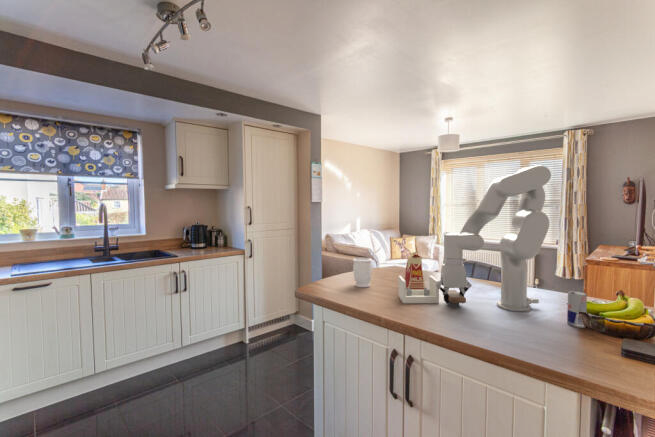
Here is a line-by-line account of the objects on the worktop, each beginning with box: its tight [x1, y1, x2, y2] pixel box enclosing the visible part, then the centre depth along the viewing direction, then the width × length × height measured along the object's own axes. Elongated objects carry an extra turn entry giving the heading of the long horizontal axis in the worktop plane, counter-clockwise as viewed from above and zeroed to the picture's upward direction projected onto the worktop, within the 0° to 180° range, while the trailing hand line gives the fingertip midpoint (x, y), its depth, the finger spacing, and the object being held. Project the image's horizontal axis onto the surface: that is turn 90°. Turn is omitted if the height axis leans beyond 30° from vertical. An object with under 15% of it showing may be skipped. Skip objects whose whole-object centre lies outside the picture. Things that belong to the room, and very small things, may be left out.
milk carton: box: [404, 251, 426, 290], centre depth 164 cm, size 9×9×20 cm
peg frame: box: [397, 275, 440, 304], centre depth 145 cm, size 16×11×10 cm
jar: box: [352, 256, 373, 288], centre depth 171 cm, size 11×10×15 cm
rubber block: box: [447, 301, 460, 310], centre depth 136 cm, size 2×8×3 cm, turn 178°
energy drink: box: [566, 290, 588, 329], centre depth 112 cm, size 5×5×12 cm
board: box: [442, 289, 467, 304], centre depth 136 cm, size 12×6×2 cm, turn 178°
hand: (453, 301), depth 136 cm, fingers closed on board, 5 cm apart
